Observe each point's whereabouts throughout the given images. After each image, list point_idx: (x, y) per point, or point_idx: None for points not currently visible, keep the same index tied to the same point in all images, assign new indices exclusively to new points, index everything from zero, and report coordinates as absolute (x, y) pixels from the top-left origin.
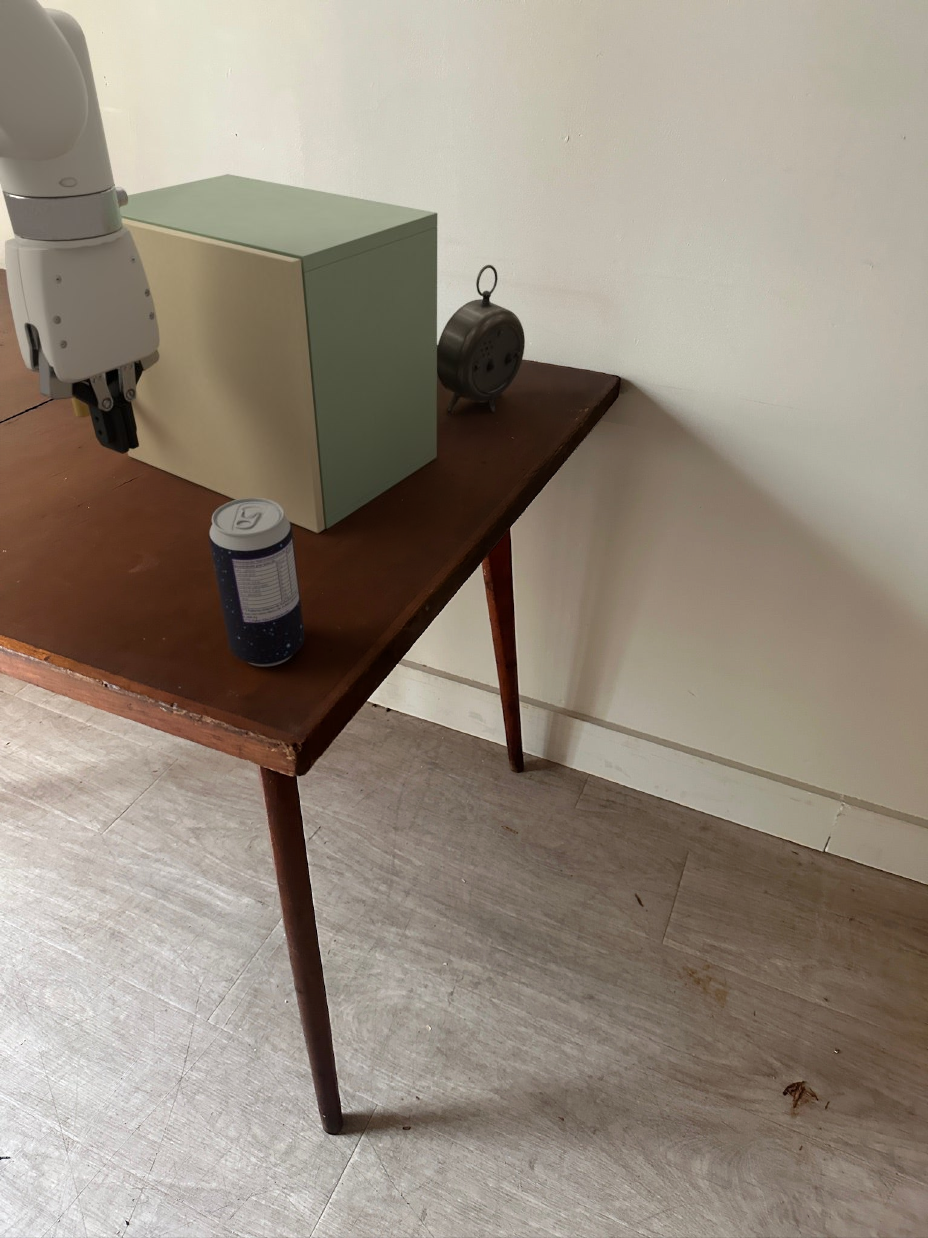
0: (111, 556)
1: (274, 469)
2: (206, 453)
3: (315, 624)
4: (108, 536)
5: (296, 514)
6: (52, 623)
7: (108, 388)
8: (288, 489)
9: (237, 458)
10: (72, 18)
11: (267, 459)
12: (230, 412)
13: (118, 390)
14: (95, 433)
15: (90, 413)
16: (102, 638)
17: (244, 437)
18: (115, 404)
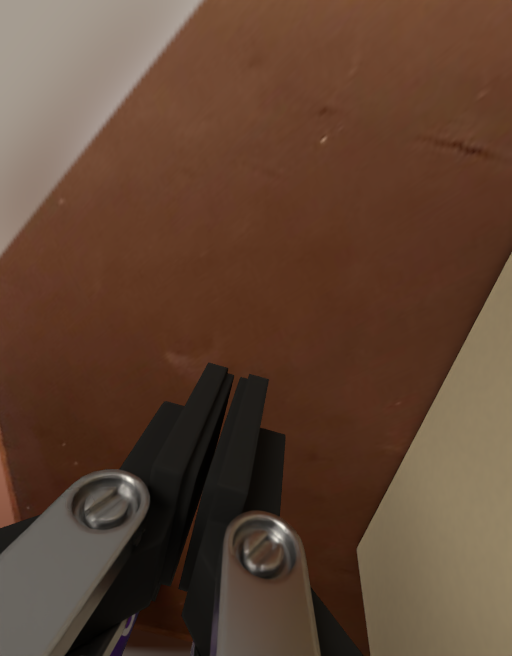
0: (188, 302)
1: (406, 584)
2: (496, 402)
3: (175, 584)
4: (239, 257)
5: (373, 538)
6: (21, 325)
7: (211, 585)
8: (385, 572)
9: (450, 502)
10: None
11: (418, 591)
12: (508, 629)
13: (199, 640)
14: (157, 411)
15: (124, 463)
16: (37, 401)
17: (459, 586)
18: (187, 564)
